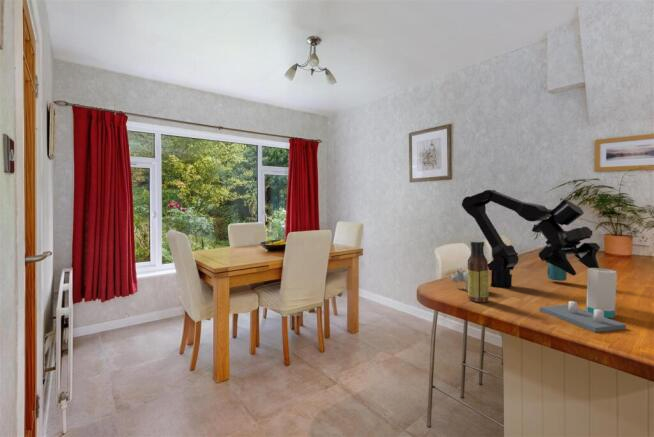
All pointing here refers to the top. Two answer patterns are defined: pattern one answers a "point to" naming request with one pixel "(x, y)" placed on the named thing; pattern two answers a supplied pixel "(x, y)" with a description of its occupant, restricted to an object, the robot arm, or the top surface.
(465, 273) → the chubby cartoon animal
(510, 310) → the top surface
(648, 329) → the top surface
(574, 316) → the pin plate
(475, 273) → the sauce bottle
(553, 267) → the beverage bottle
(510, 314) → the top surface
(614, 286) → the vase
